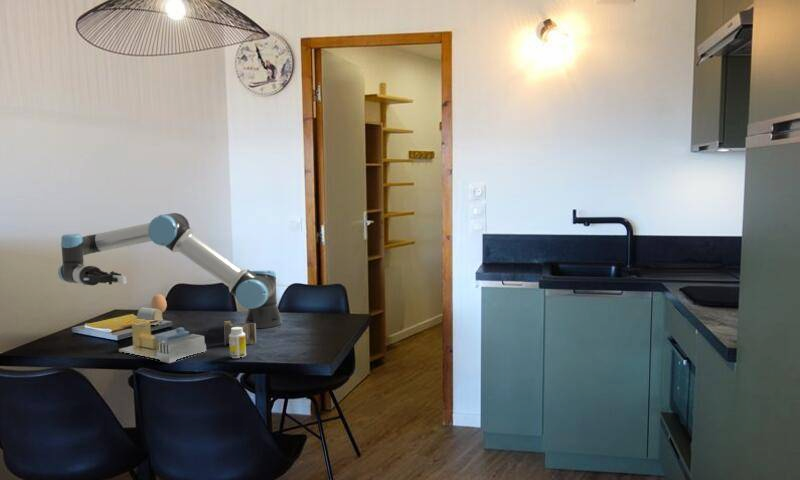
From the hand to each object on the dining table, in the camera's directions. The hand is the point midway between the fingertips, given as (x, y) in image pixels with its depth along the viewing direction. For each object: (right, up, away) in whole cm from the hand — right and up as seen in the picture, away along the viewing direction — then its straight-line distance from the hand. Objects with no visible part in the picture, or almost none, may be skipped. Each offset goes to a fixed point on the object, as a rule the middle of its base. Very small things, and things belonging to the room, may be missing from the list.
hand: (124, 280), depth 246 cm
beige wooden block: (+10, -24, -4) cm, 26 cm away
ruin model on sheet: (+43, -25, +2) cm, 49 cm away
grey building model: (+17, -25, -8) cm, 32 cm away
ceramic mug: (-3, -21, +36) cm, 42 cm away
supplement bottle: (+46, -26, -15) cm, 55 cm away
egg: (-8, -19, +57) cm, 61 cm away
